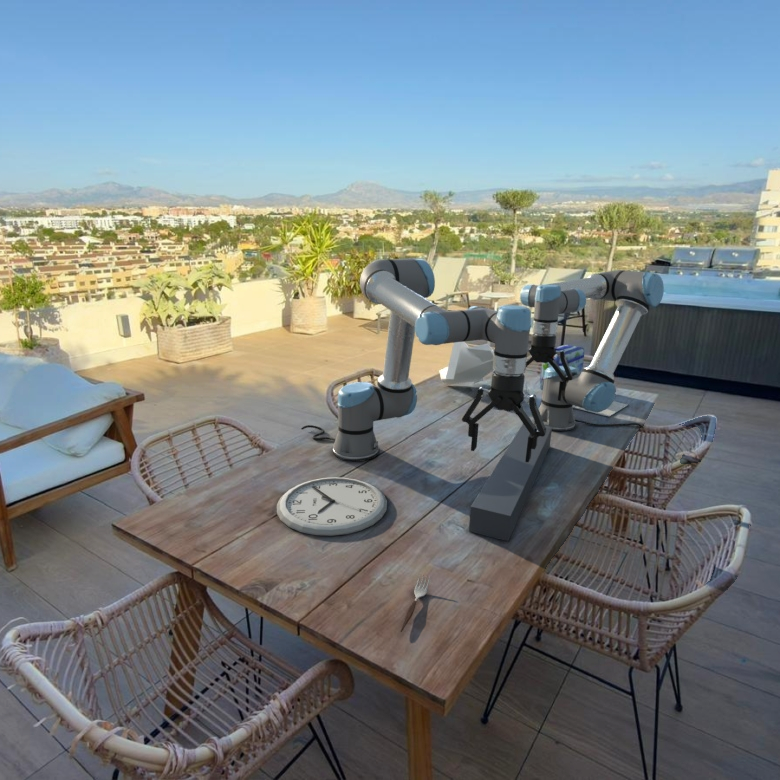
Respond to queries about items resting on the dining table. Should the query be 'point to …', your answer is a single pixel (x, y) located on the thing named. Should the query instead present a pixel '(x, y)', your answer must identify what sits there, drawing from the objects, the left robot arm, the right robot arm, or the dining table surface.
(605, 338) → the right robot arm
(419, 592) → the fork
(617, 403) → the invitation card
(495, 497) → the wide beam
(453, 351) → the white plastic object
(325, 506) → the wall clock
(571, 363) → the lunch box
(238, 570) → the dining table surface
